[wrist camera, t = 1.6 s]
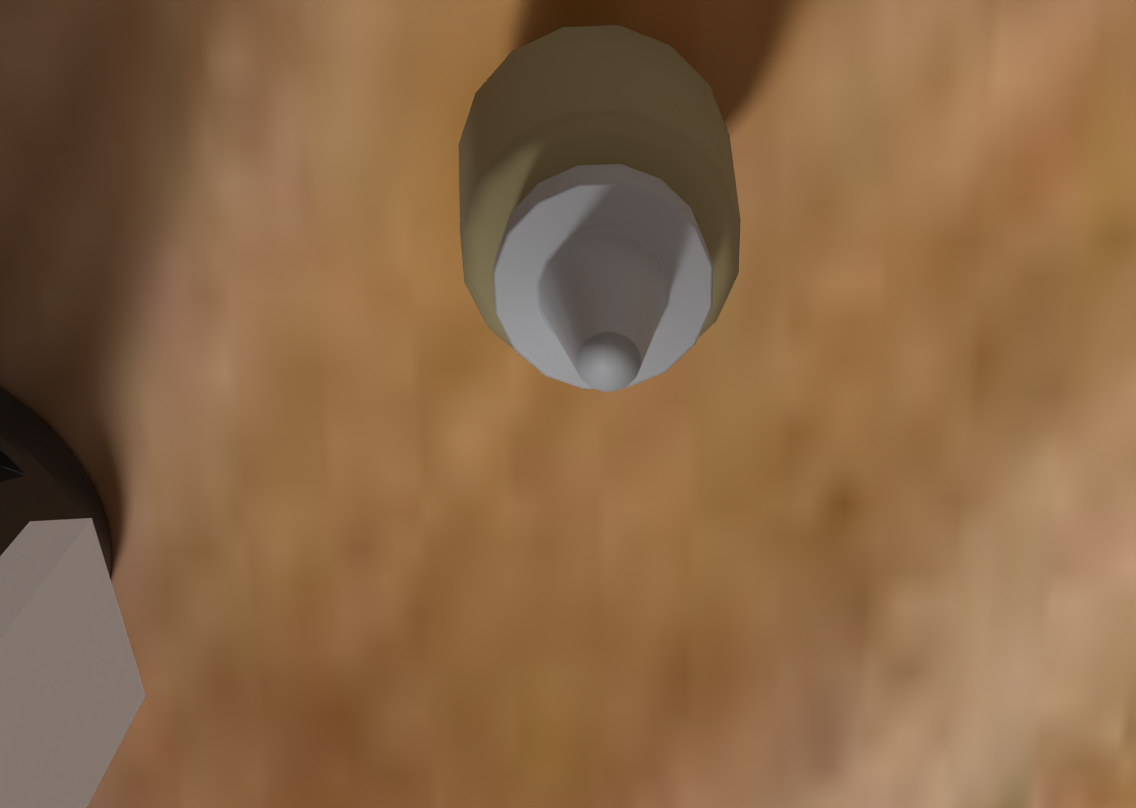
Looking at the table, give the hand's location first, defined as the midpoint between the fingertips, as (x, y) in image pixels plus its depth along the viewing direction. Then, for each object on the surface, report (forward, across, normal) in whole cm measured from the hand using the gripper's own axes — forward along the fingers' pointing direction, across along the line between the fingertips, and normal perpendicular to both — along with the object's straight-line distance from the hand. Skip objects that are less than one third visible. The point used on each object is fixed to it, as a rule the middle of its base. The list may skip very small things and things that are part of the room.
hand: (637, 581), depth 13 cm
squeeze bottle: (+25, 0, 0) cm, 25 cm away
